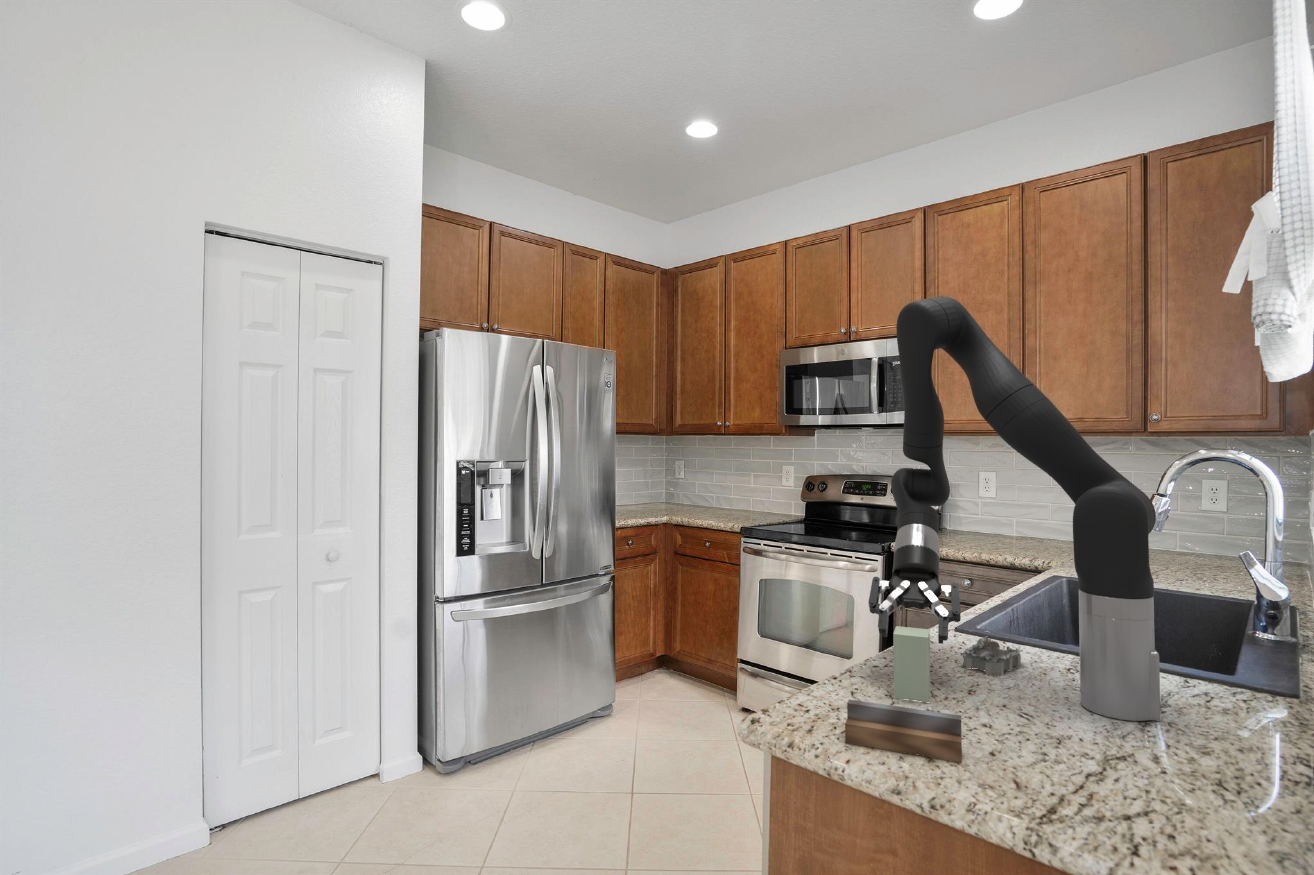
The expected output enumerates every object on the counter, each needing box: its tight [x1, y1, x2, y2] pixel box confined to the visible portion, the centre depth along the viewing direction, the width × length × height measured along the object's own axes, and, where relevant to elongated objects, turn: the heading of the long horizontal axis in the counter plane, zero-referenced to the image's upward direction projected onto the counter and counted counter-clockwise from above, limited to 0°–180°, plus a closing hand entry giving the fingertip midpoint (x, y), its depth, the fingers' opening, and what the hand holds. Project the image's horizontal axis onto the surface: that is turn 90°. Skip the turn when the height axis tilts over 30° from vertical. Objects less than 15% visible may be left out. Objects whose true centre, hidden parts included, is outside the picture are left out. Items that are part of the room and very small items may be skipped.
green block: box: [892, 625, 931, 703], centre depth 105 cm, size 5×5×10 cm
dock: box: [844, 698, 963, 763], centre depth 90 cm, size 14×10×4 cm
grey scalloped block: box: [959, 635, 1024, 676], centre depth 119 cm, size 11×8×4 cm
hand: (912, 637), depth 108 cm, fingers open, 8 cm apart
